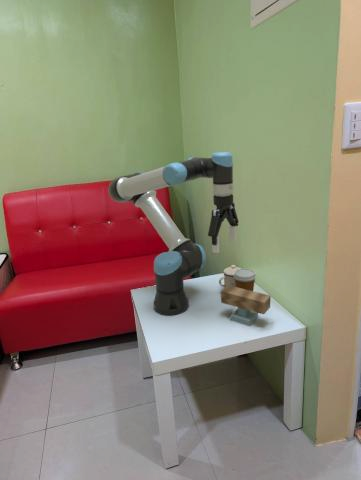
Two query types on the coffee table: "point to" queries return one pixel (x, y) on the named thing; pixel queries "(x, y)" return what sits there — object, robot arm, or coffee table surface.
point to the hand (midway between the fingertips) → (224, 246)
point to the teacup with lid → (229, 276)
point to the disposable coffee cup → (245, 279)
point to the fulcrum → (244, 316)
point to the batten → (245, 299)
